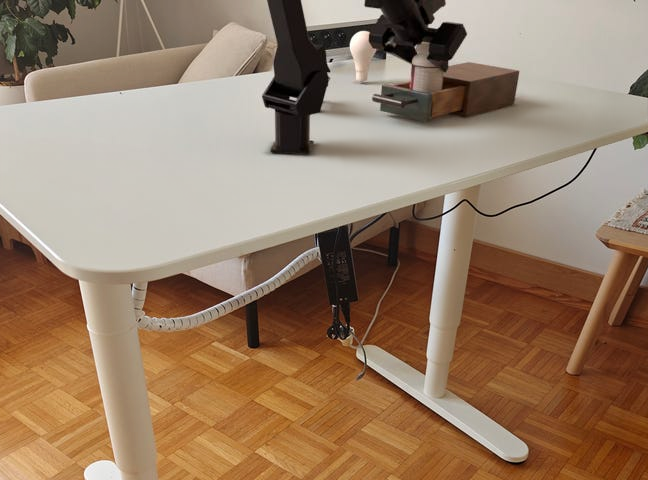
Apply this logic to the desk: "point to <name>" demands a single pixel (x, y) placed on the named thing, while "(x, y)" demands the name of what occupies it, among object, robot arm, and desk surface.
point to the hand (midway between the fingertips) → (432, 67)
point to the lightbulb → (361, 54)
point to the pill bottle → (425, 72)
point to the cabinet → (483, 87)
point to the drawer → (420, 100)
